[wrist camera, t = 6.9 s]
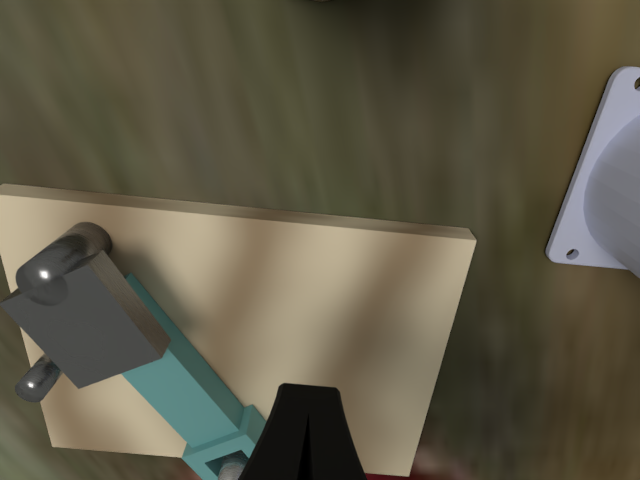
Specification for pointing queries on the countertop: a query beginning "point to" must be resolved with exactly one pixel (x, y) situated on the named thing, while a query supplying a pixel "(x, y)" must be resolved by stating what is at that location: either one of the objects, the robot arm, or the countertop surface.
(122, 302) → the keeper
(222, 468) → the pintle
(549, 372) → the countertop surface
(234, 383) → the base board
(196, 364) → the link
